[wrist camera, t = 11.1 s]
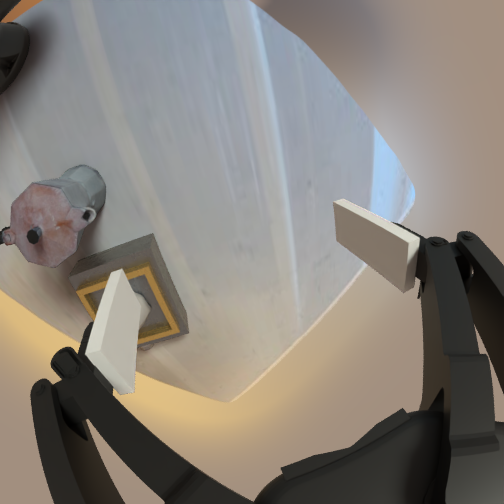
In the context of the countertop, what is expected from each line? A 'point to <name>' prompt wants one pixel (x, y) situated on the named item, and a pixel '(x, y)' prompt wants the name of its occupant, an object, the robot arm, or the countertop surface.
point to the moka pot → (55, 215)
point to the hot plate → (135, 287)
